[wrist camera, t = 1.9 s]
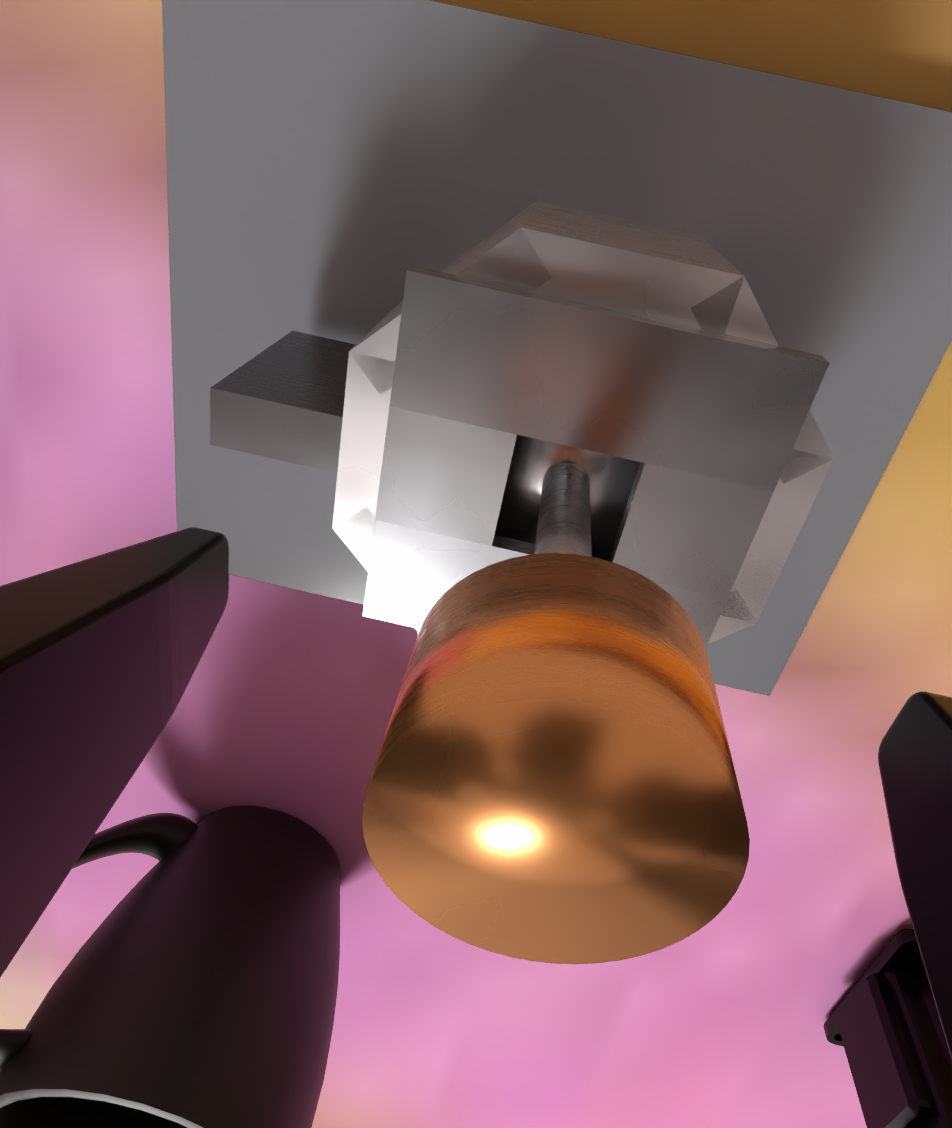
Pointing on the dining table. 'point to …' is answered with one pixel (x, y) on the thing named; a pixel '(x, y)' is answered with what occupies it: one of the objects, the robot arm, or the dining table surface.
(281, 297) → the slate board
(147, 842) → the mug
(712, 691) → the plunger
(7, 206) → the dining table surface
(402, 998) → the dining table surface
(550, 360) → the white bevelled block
